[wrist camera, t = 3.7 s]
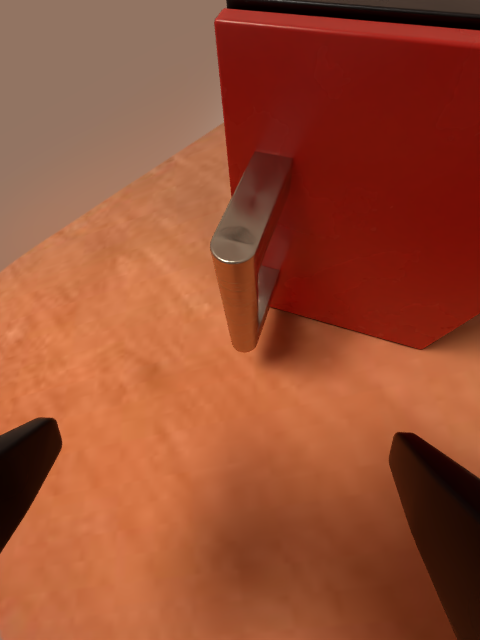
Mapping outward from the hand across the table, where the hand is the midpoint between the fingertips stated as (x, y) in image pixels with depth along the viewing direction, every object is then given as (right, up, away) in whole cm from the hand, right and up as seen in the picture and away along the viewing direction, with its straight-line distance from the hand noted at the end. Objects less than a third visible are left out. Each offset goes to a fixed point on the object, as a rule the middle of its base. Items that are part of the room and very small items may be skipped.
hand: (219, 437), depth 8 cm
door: (+6, +1, +13) cm, 15 cm away
